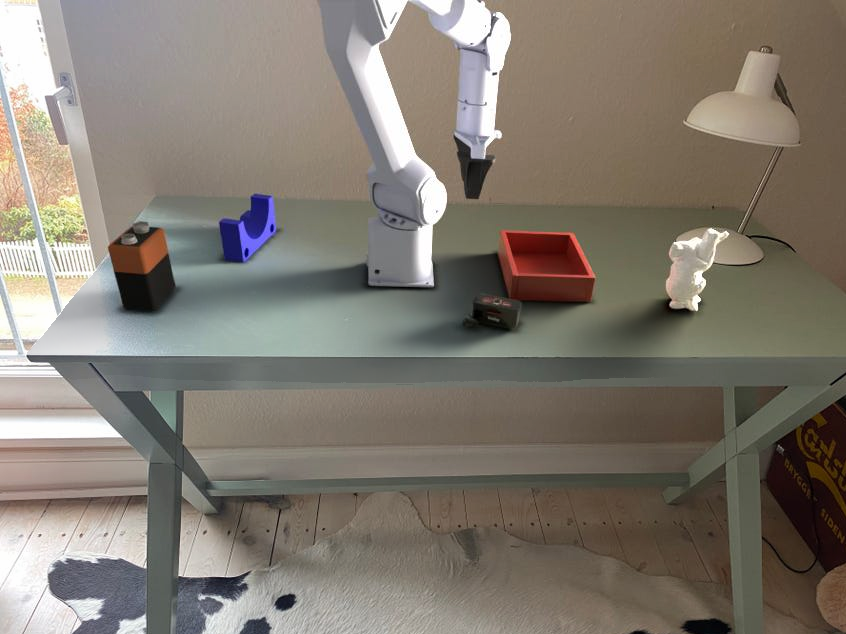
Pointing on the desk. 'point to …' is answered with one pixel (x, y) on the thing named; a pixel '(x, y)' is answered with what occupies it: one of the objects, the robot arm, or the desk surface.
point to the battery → (142, 267)
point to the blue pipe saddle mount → (248, 229)
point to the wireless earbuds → (494, 311)
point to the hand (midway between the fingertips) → (470, 189)
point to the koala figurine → (690, 268)
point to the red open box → (544, 266)
